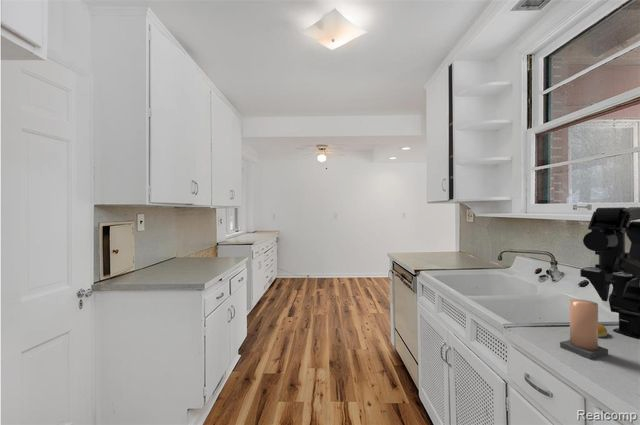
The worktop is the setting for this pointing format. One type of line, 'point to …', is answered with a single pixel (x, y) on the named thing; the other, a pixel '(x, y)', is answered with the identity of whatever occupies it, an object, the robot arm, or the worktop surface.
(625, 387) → the worktop surface
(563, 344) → the plate
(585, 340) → the peach cylinder
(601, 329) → the bread roll
